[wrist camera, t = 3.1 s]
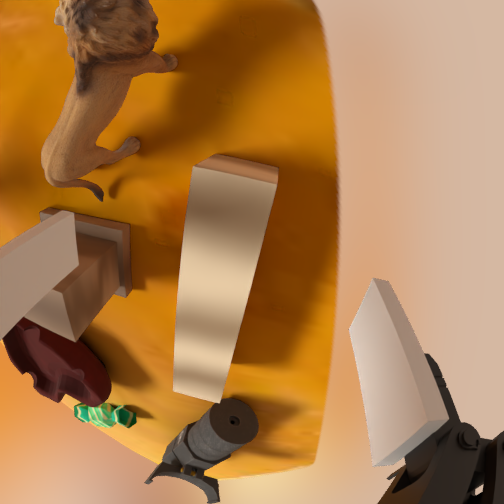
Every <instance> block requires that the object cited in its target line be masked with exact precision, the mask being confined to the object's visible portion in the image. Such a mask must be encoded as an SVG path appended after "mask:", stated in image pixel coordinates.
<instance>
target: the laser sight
mask: <svg viewBox="0 0 504 504" xmlns="http://www.w3.org/2000/svg"><path fill="white" fill-rule="evenodd" d="M258 427H259V425H258V420H257V417H256V415H255V413H254V412H253V410H252V409H251V408H250V407H249V406H248V405H246V404H245V403H243V402H241V401H239V400H236V399H231V398H226V399H221V401H220V403H215V404H214V405H213V406H212V407H211V408H210V409H209V410H208V411H207V412H206V413H205V414H204V415H203V416H202V417H201V419H200V420H198V421H196V422H194V423H191V424H188V425H187V426H186V427H185V428H184V429H183V430H182V431H181V432H180V434H179V435H178V436H177V437H176V438H175V439H174V440H173V441H172V442H171V443H170V444H169V445H168V446H167V448H166V451H165V453H164V456H163V459H162V460H163V462H162V463H160V464H159V465H158V466H157V467H156V469H155V470H154V471H153V473H152V474H151V475H150V476H149V478H148V479H147V480H146V481H145V483H146V484H150V483H151V482H153V480H152V479H153V478H154V477H156V476H171V477H177V478H180V479H183V480H186V481H188V482H190V483H192V484H194V485H196V486H198V487H199V488H200V489H202V490H203V491H204V492H205V494H206V495H207V498H208V502H207V503H209V504H212V503H216V502H220V497H219V489H218V487H219V484H218V481H217V479H214V478H211V477H207V476H204V471H205V470H207V469H209V468H211V467H213V466H215V465H217V464H218V463H220V462H222V461H224V460H226V459H227V458H229V457H230V456H231V453H232V452H233V451H235V450H237V449H239V448H240V447H242V446H243V445H245V444H246V443H248V442H250V441H251V440H253V439H254V438H255V436H256V435H257V432H258Z"/></svg>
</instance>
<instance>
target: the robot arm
mask: <svg viewBox="0 0 504 504" xmlns="http://www.w3.org/2000/svg"><path fill="white" fill-rule="evenodd" d="M78 265H79V261H78V253H77V244H76V234H75V221H74V212H69V211H64V210H62V211H60V212H58V213H57V214H55V215H53V216H51V217H49V218H48V219H46V220H44V221H42V222H41V223H39V224H37V225H36V226H34V227H32V228H31V229H29V230H27V231H26V232H24V233H22V234H21V235H19V236H18V237H16V238H14V239H13V240H11V241H10V242H8V243H7V244H5V245H4V246H2V247H1V248H0V341H1V339H2V338H3V337H4V336H5V335H6V334H7V333H8V332H9V331H10V330H11V329H12V328H13V327H14V326H15V325H16V323H17V322H18V321H19V320H20V319H21V318H22V317H23V316H24V315H25V314H26V313H27V312H28V311H29V310H30V309H31V308H32V307H33V306H34V305H35V304H37V303H38V302H39V301H40V300H41V299H42V298H43V297H44V296H45V295H46V294H47V293H48V292H49V291H50V290H51V289H52V288H54V287H55V286H56V285H57V284H58V283H59V282H60V281H61V280H62V279H63V278H65V277H66V276H67V275H68V274H69V273H70V272H71V271H73V270H74V269H75V268H76V267H77V266H78ZM349 333H350V337H351V342H352V346H353V351H354V356H355V360H356V365H357V370H358V375H359V380H360V386H361V391H362V396H363V402H364V408H365V414H366V421H367V427H368V434H369V441H370V448H371V456H372V465H373V467H374V466H387V465H393V464H395V463H396V462H398V461H399V460H401V459H402V458H403V457H405V463H406V465H404V466H403V467H401V468H400V469H398V470H397V471H395V472H394V473H392V474H391V475H390V476H389V477H388V478H387V479H388V480H390V479H392V478H393V477H395V476H396V477H395V479H394V480H393V482H392V483H391V485H390V486H389V488H388V489H387V491H386V492H385V494H384V495H383V497H382V498H381V500H380V501H379V502H378V504H504V431H503V432H501V433H500V434H499V435H498V436H497V437H495V438H494V439H493V440H489V439H484V438H480V436H479V434H478V432H477V430H476V429H475V428H474V427H473V426H471V425H470V424H468V423H465V422H464V423H461V421H460V419H459V416H458V414H457V411H456V408H455V406H454V403H453V400H452V398H451V395H450V392H449V390H448V388H446V383H445V380H444V378H442V373H441V371H440V369H439V366H438V364H437V363H436V362H435V361H434V359H433V358H432V357H431V356H430V355H429V354H425V353H424V352H423V350H422V348H421V346H420V343H419V341H418V339H417V337H416V335H415V333H414V330H413V328H412V326H411V324H410V322H409V321H408V318H407V316H406V314H405V312H404V310H403V308H402V306H401V304H400V302H399V300H398V298H397V296H396V294H395V293H394V290H393V289H392V287H391V285H390V283H389V282H388V281H385V280H381V279H376V278H372V280H371V283H370V286H369V287H368V290H367V292H366V294H365V296H364V298H363V301H362V303H361V305H360V307H359V309H358V312H357V313H356V316H355V318H354V320H353V322H352V324H351V326H350V328H349ZM483 484H484V486H483V492H481V493H480V494H478V495H475V489H476V488H478V487H479V486H481V485H483Z"/></svg>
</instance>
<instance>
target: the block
mask: <svg viewBox="0 0 504 504" xmlns="http://www.w3.org/2000/svg"><path fill="white" fill-rule="evenodd" d="M278 171H279V168H278V167H274V166H270V165H266V164H262V163H257V162H253V161H248V160H244V159H239V158H235V157H230V156H225V155H220V154H214V155H212V156H211V157H209V158H207V159H205V160H203V161H202V162H200V163H198V164H196V165H195V166H193V170H192V176H191V183H190V190H189V196H188V204H187V211H186V219H185V227H184V235H183V244H182V253H181V263H180V273H179V284H178V296H177V310H176V326H175V346H174V375H173V391H175V392H178V393H181V394H185V395H188V396H192V397H196V398H200V399H203V400H207V401H211V402H215V403H220V401H221V397H222V393H223V390H224V386H225V382H226V379H227V375H228V371H229V368H230V364H231V360H232V356H233V353H234V349H235V345H236V341H237V338H238V334H239V330H240V326H241V323H242V319H243V315H244V311H245V308H246V304H247V300H248V296H249V292H250V289H251V285H252V281H253V277H254V273H255V269H256V266H257V262H258V258H259V254H260V250H261V246H262V243H263V239H264V235H265V231H266V227H267V223H268V219H269V215H270V212H271V208H272V204H273V200H274V196H275V192H276V188H277V183H278Z"/></svg>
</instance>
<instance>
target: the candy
mask: <svg viewBox="0 0 504 504" xmlns="http://www.w3.org/2000/svg"><path fill="white" fill-rule="evenodd" d="M124 406H126V405H119V406H118V407H117V408H116V409H115V408H113V407H112V406H111V405H110V404H108V403H102V404H100V405H99V406H97V407H90V406H87V405H85V404H84V403H80V404H77V405H75V406H74V415H75V417H76V418H78V419H79V420H80V421H82V422H89V421H91V422H93V423H94V424H95V425H96V426H101V427H108V428H111V427H113V426H114V425H115V424H116V423H118V424H120V425H123V426H125V427H127V428H130V427H131V426H133V425H134V424H136V423H137V421H136V413H133V412H130V411H128V410H127V409H125V408H124Z"/></svg>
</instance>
